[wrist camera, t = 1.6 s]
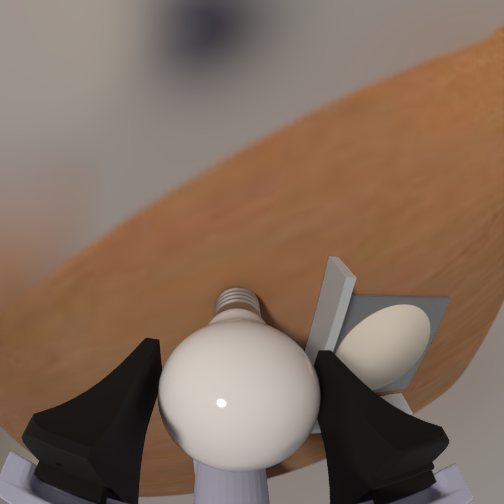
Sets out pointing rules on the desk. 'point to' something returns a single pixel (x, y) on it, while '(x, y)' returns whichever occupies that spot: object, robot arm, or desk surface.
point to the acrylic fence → (336, 319)
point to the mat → (388, 337)
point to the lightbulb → (238, 390)
